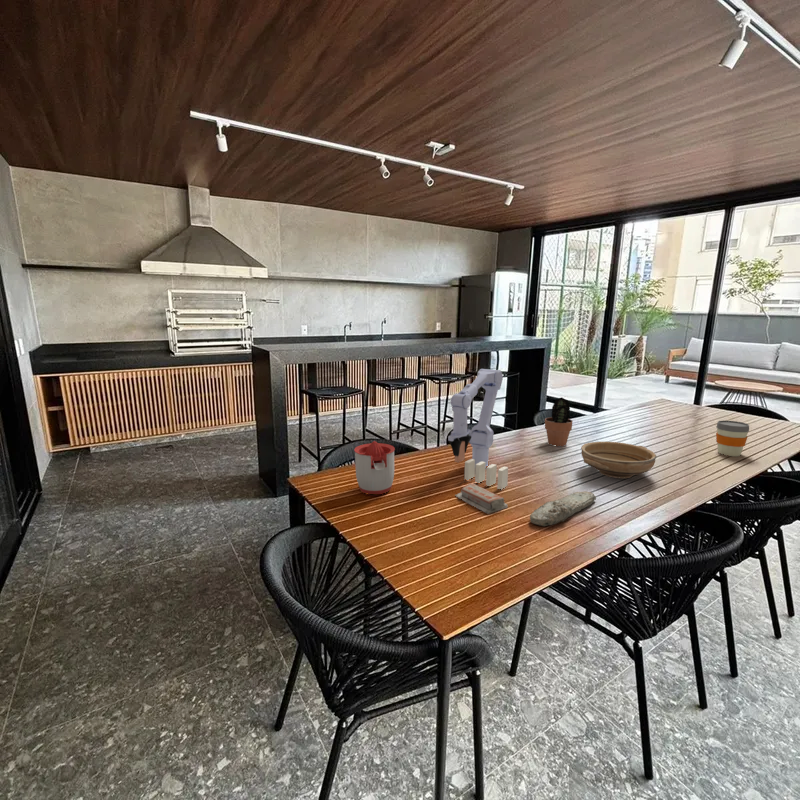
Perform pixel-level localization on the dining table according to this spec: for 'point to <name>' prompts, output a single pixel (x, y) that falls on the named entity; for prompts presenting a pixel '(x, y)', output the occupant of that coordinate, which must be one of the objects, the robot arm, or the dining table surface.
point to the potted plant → (559, 423)
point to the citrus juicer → (374, 467)
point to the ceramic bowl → (618, 458)
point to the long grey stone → (561, 508)
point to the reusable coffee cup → (731, 437)
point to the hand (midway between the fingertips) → (459, 453)
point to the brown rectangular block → (461, 453)
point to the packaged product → (481, 498)
